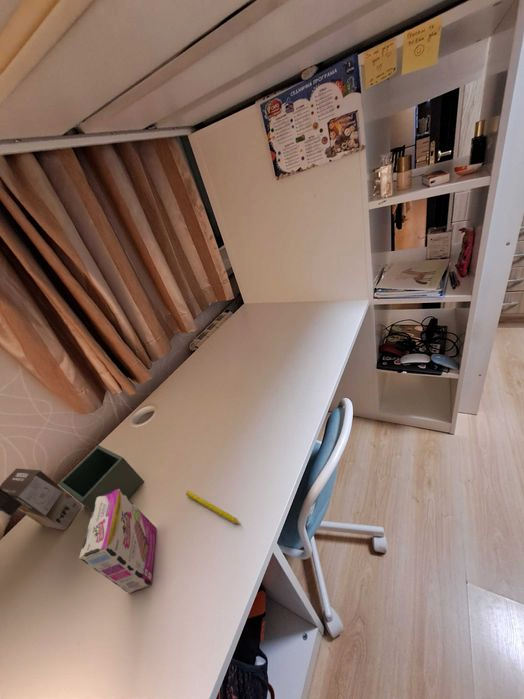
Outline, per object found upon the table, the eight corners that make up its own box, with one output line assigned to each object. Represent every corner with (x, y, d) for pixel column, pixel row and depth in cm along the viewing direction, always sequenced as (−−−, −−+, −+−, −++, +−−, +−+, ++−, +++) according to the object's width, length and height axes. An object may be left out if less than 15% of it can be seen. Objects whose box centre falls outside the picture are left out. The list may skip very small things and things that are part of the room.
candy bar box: (153, 585, 56) (106, 548, 47) (129, 595, 55) (76, 560, 46) (158, 526, 65) (119, 487, 56) (137, 534, 65) (94, 496, 56)
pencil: (186, 495, 69) (185, 493, 69) (189, 492, 70) (187, 489, 69) (239, 527, 60) (238, 525, 59) (242, 522, 60) (241, 520, 60)
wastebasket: (83, 505, 75) (57, 483, 69) (119, 467, 83) (98, 445, 77) (108, 524, 69) (81, 501, 63) (144, 481, 76) (123, 457, 71)
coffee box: (83, 504, 76) (41, 469, 67) (65, 530, 71) (17, 496, 62) (59, 501, 79) (16, 467, 70) (40, 526, 74) (-9, 493, 65)
